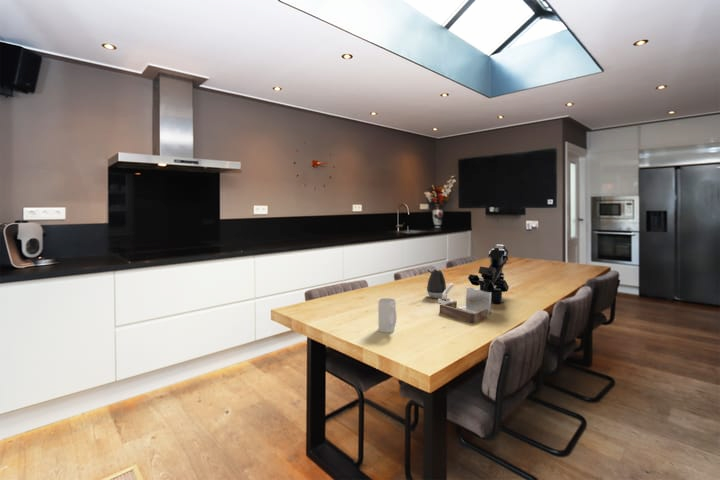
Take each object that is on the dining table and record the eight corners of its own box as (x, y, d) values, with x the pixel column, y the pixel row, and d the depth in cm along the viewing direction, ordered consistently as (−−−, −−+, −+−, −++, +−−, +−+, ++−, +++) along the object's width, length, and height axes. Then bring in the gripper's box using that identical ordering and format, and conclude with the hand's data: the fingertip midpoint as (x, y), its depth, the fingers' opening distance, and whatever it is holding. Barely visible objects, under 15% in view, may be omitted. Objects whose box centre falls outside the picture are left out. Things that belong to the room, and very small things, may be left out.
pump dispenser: (431, 293, 204) (431, 266, 202) (449, 296, 198) (450, 268, 196) (422, 297, 195) (423, 269, 194) (441, 300, 189) (442, 271, 188)
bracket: (467, 307, 177) (468, 287, 176) (490, 313, 168) (491, 292, 167) (457, 311, 172) (457, 289, 171) (479, 317, 163) (480, 295, 162)
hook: (464, 294, 182) (454, 287, 181) (449, 312, 185) (438, 305, 183) (459, 287, 190) (449, 280, 188) (444, 305, 192) (434, 298, 190)
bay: (454, 309, 175) (454, 300, 175) (487, 318, 162) (487, 309, 161) (439, 313, 168) (439, 304, 168) (472, 323, 155) (473, 314, 154)
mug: (374, 328, 147) (375, 299, 146) (389, 326, 150) (389, 297, 149) (387, 337, 138) (388, 305, 137) (402, 334, 141) (403, 303, 140)
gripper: (470, 257, 181) (456, 283, 175) (507, 262, 167) (492, 290, 161) (479, 271, 187) (465, 296, 181) (514, 277, 173) (501, 305, 167)
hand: (480, 296), depth 172 cm, fingers closed
